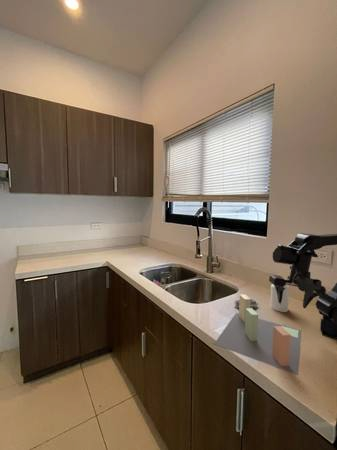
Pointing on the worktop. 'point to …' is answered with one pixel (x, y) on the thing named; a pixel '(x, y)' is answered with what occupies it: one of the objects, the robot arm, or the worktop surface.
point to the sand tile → (243, 306)
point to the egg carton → (252, 304)
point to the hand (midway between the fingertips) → (291, 305)
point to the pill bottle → (284, 303)
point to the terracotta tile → (281, 345)
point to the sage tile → (251, 324)
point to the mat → (259, 342)
